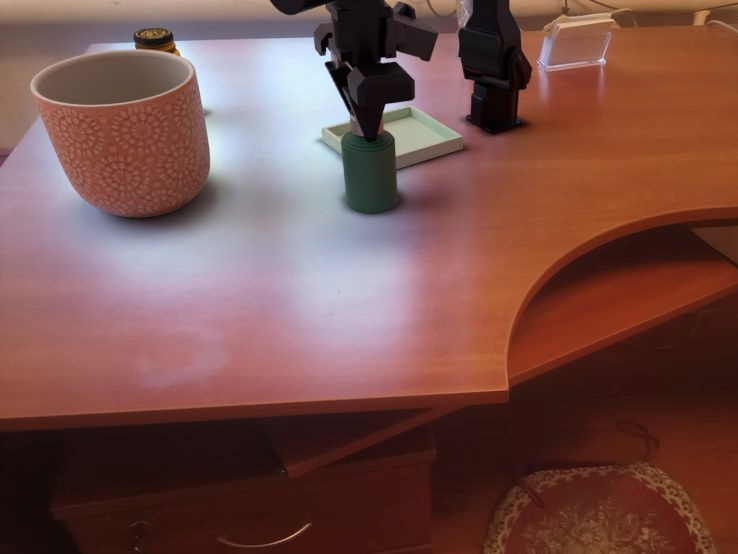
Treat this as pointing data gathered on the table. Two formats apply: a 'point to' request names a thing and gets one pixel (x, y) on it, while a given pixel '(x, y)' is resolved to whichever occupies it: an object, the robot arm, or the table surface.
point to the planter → (127, 129)
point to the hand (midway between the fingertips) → (365, 134)
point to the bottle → (370, 172)
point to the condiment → (155, 40)
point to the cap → (356, 129)
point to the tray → (406, 135)
